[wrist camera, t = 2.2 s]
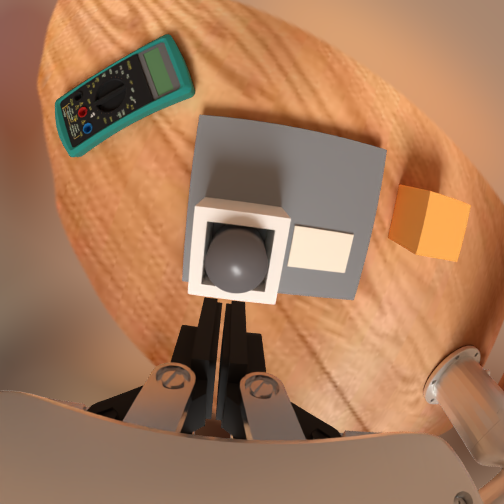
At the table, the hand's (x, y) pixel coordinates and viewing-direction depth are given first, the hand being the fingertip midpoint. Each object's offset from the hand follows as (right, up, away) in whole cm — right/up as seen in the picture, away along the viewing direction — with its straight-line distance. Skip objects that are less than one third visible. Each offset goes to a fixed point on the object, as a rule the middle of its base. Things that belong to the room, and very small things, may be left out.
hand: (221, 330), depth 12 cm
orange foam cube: (+20, +7, +16) cm, 26 cm away
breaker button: (0, +4, +12) cm, 13 cm away
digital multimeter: (-12, +19, +12) cm, 26 cm away
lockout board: (+4, +7, +16) cm, 18 cm away
